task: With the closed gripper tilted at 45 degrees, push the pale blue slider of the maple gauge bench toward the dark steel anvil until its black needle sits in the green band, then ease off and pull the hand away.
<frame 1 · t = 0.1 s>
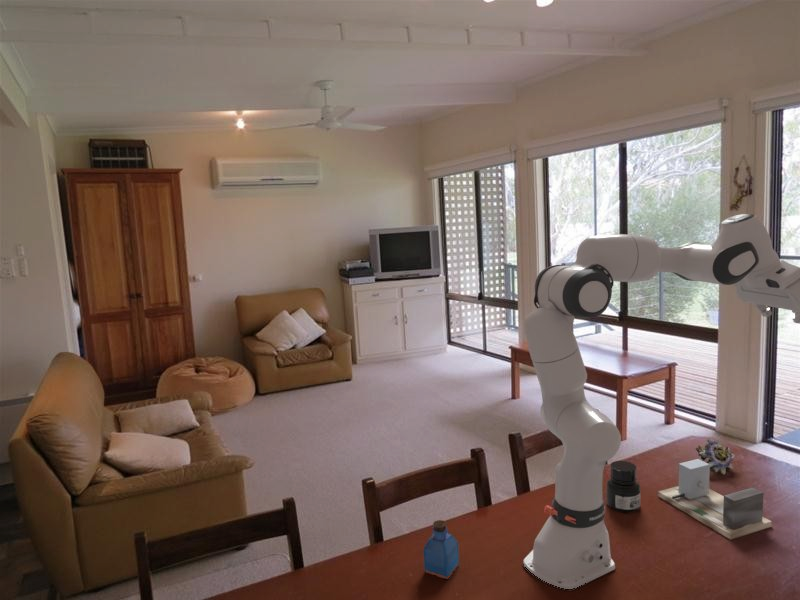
hand: (783, 318, 140), 54 cm above the table, tool tilted 30°, fingers open, 8 cm apart
perfume bottle: (442, 570, 135), on the table
ink bottle: (623, 506, 159), on the table
passion flower: (712, 469, 177), on the table
gauge slider: (690, 481, 157), point 7 cm above the table, slide at 0.0 cm
gauge bench: (711, 510, 153), on the table
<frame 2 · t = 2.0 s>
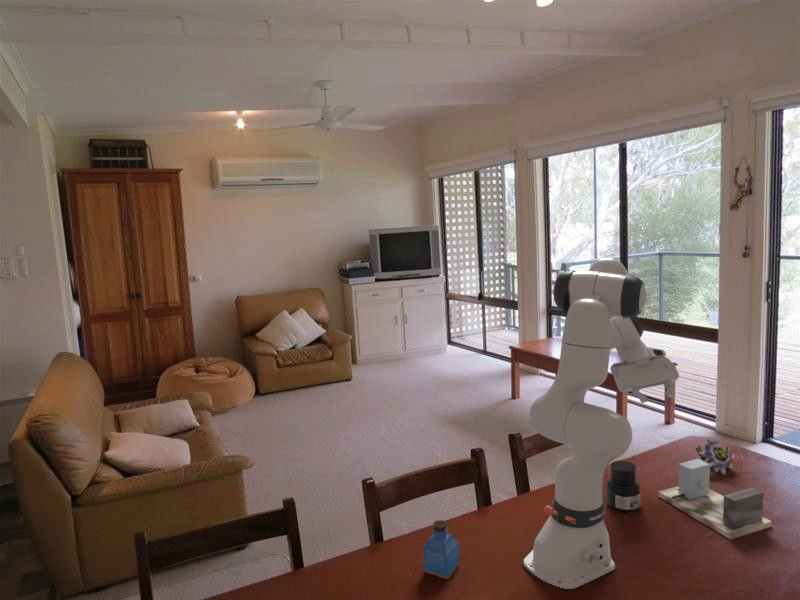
hand: (658, 399, 167), 26 cm above the table, tool tilted 45°, fingers open, 8 cm apart
nothing on the table moved.
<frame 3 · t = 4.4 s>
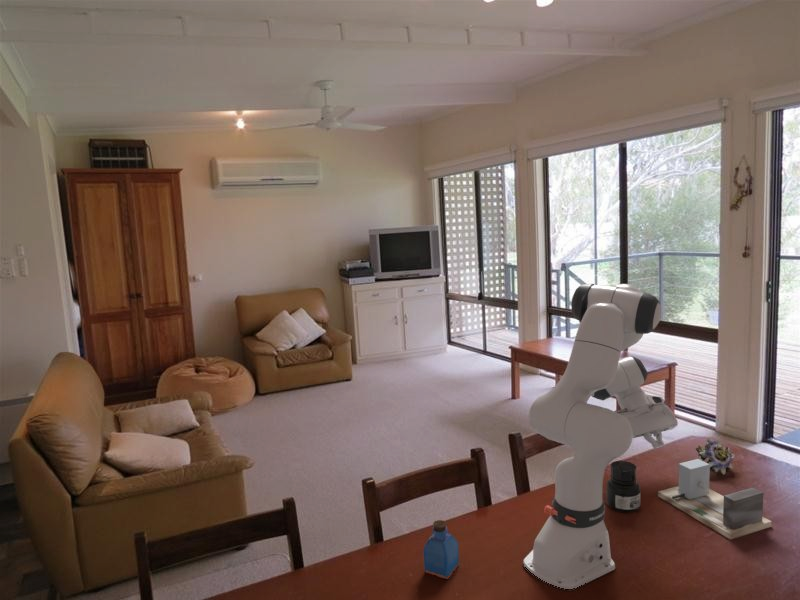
hand: (659, 446, 169), 11 cm above the table, tool tilted 45°, fingers closed
nothing on the table moved.
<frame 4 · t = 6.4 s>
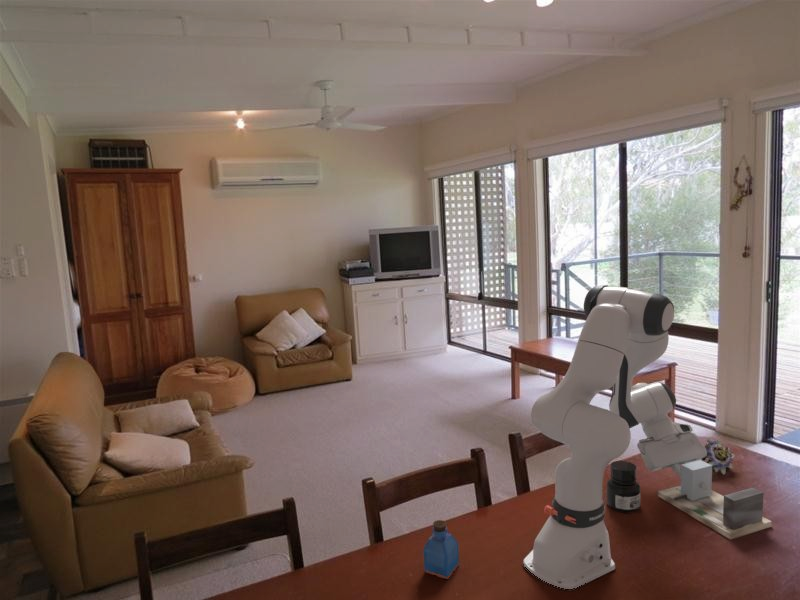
hand: (688, 478, 160), 6 cm above the table, tool tilted 45°, fingers closed, pressing on gauge slider
gauge slider: (692, 482, 156), point 7 cm above the table, slide at 0.8 cm, touching gripper
everything else where it was.
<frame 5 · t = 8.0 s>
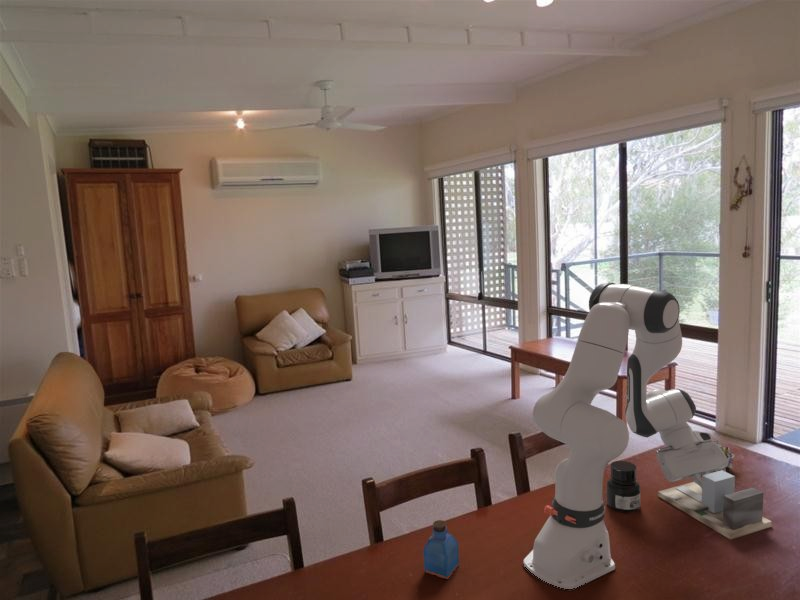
hand: (709, 489, 153), 6 cm above the table, tool tilted 45°, fingers closed, pressing on gauge slider
gauge slider: (714, 494, 149), point 7 cm above the table, slide at 8.0 cm, touching gripper
everything else where it was.
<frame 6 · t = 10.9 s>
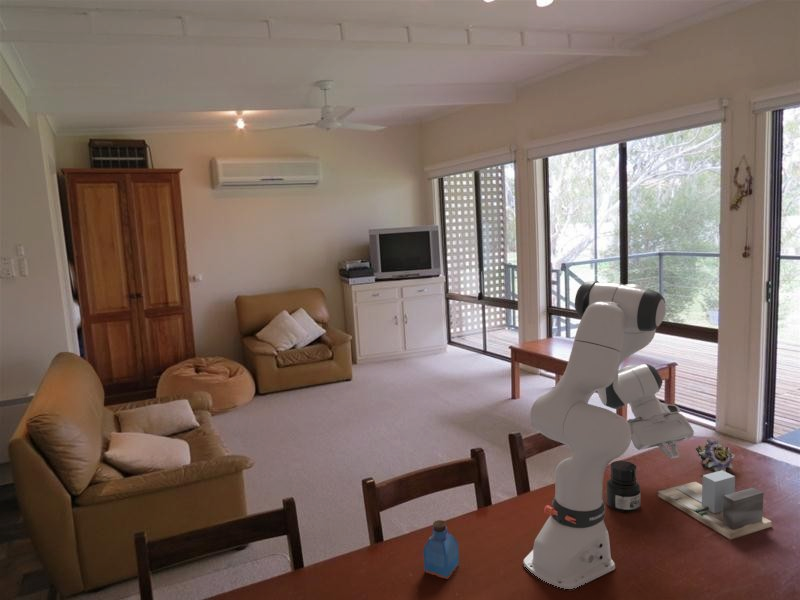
hand: (675, 457, 164), 10 cm above the table, tool tilted 45°, fingers closed
gauge slider: (715, 494, 149), point 7 cm above the table, slide at 8.0 cm
everything else where it was.
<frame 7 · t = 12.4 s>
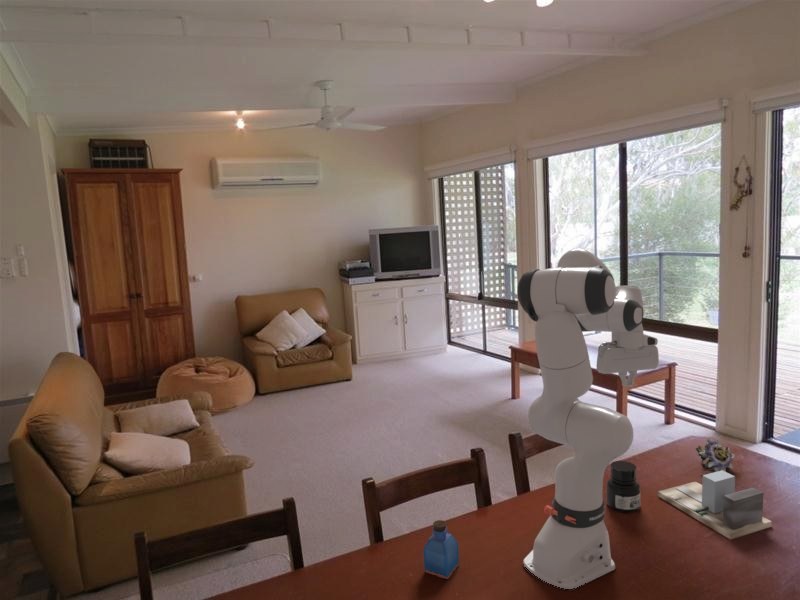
hand: (627, 385, 166), 31 cm above the table, tool pointing down, fingers closed
nothing on the table moved.
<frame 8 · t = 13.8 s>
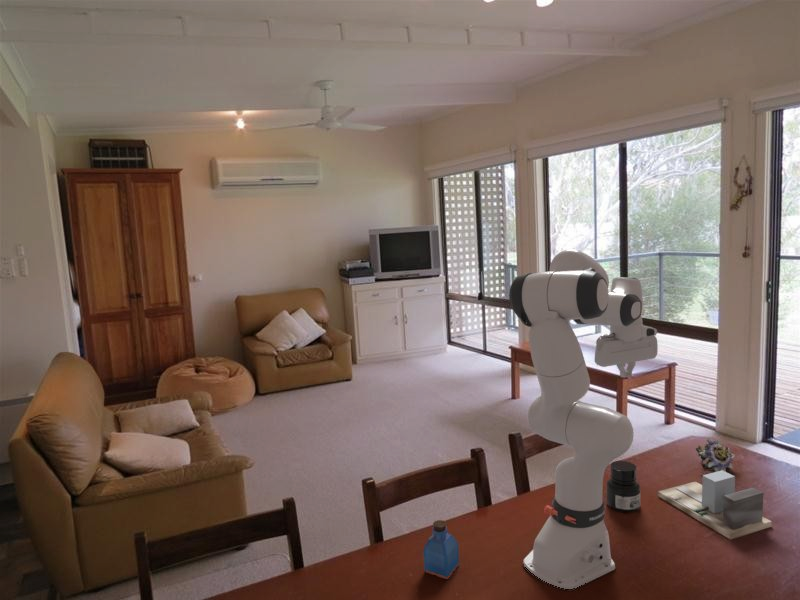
hand: (626, 376, 166), 34 cm above the table, tool pointing down, fingers closed
nothing on the table moved.
at the end: gauge slider slide at 8.0 cm; ink bottle moved 0.2 cm from its start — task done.
